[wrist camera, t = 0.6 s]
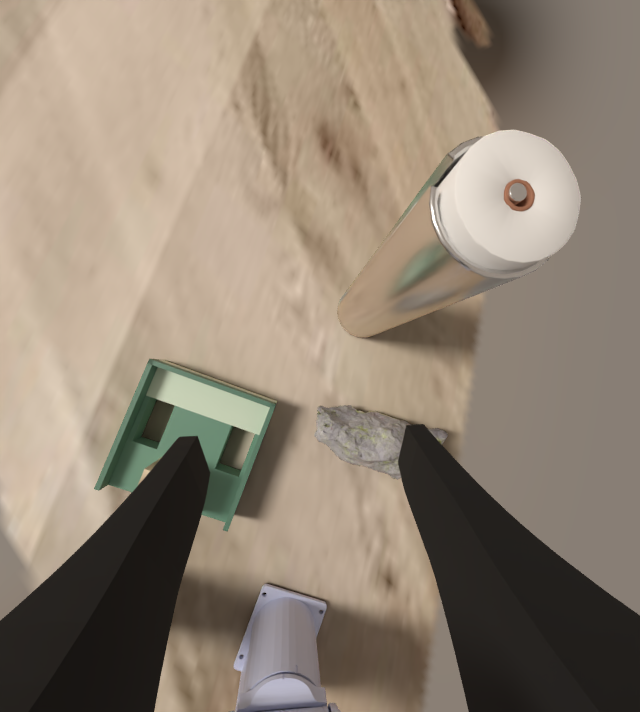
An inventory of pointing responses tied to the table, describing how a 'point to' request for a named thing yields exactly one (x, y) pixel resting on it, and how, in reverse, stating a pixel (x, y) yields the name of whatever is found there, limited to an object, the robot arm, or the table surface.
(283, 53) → the table surface
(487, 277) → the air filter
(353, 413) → the rock
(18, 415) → the table surface
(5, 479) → the table surface
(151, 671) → the robot arm
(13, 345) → the table surface
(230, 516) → the box
